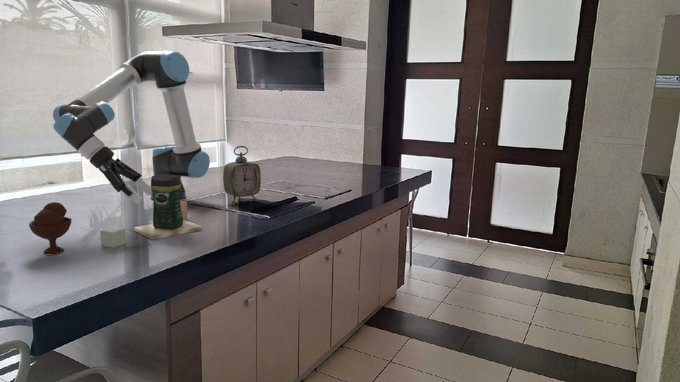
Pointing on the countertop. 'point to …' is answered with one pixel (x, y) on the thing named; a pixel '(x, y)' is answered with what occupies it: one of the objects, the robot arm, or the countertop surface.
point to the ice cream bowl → (51, 225)
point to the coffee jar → (166, 201)
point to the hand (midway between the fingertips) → (145, 197)
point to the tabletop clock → (241, 177)
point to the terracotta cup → (184, 209)
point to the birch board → (166, 230)
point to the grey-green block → (113, 236)
